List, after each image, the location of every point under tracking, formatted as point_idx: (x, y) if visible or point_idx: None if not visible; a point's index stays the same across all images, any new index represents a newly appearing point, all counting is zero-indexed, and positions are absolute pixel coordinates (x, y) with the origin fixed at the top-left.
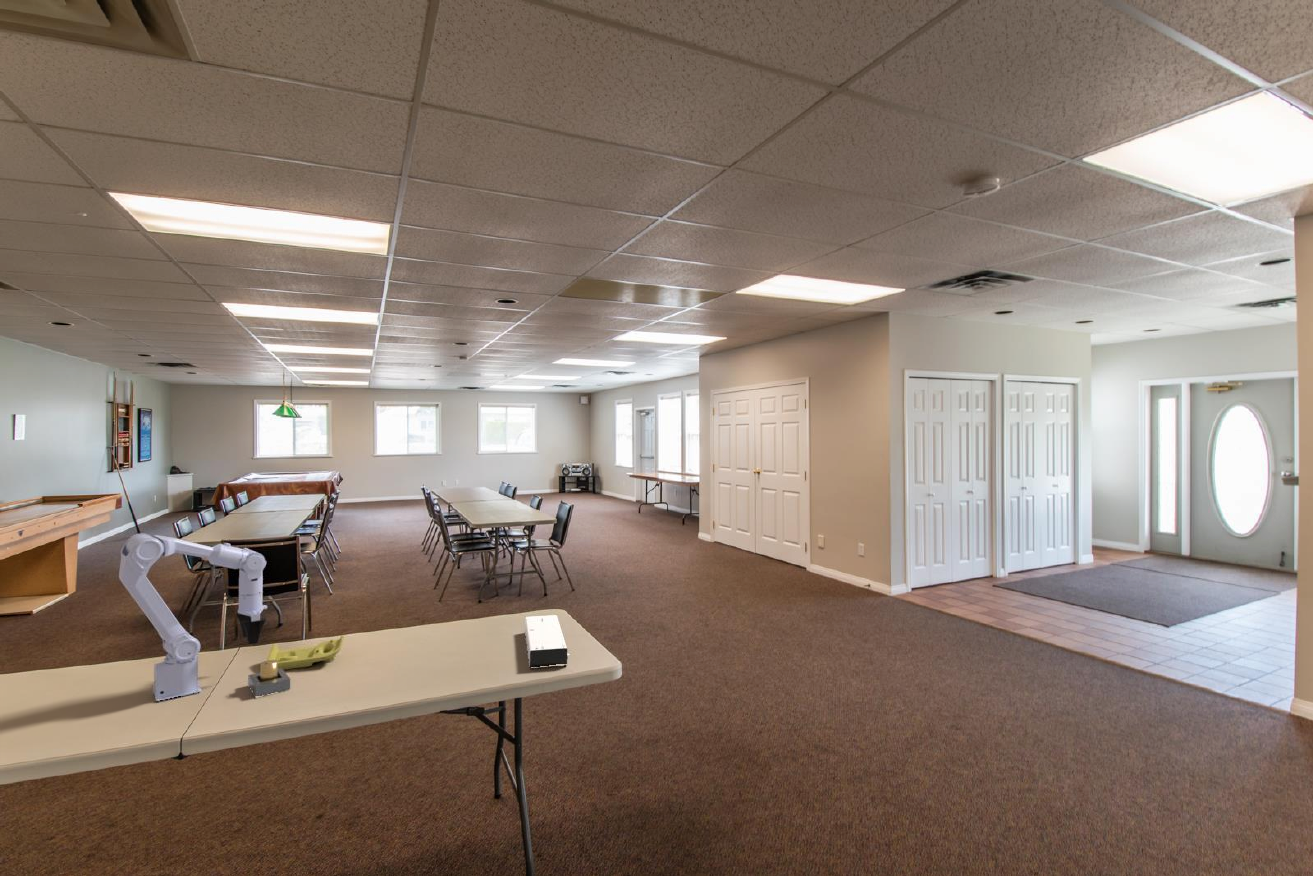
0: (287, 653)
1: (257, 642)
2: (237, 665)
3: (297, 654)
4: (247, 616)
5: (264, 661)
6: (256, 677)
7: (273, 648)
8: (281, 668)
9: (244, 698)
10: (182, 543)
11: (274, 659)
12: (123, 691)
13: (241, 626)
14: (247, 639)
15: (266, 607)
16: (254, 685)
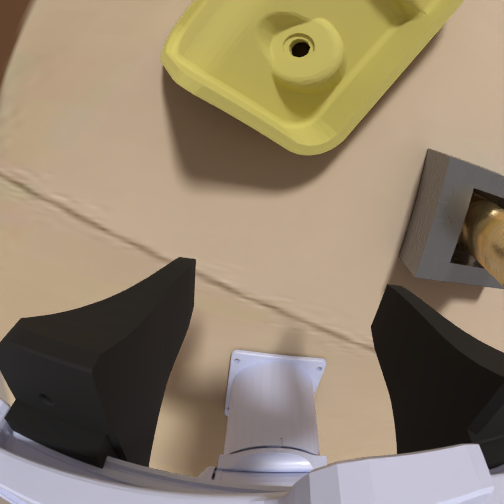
0: (259, 39)
1: (402, 288)
2: (134, 213)
3: (309, 10)
4: (138, 420)
5: (501, 269)
6: (458, 264)
7: (229, 99)
8: (456, 160)
9: (468, 291)
10: None
11: (252, 100)
12: (169, 429)
13: (166, 379)
14: (380, 357)
15: (487, 477)
16: (497, 287)
